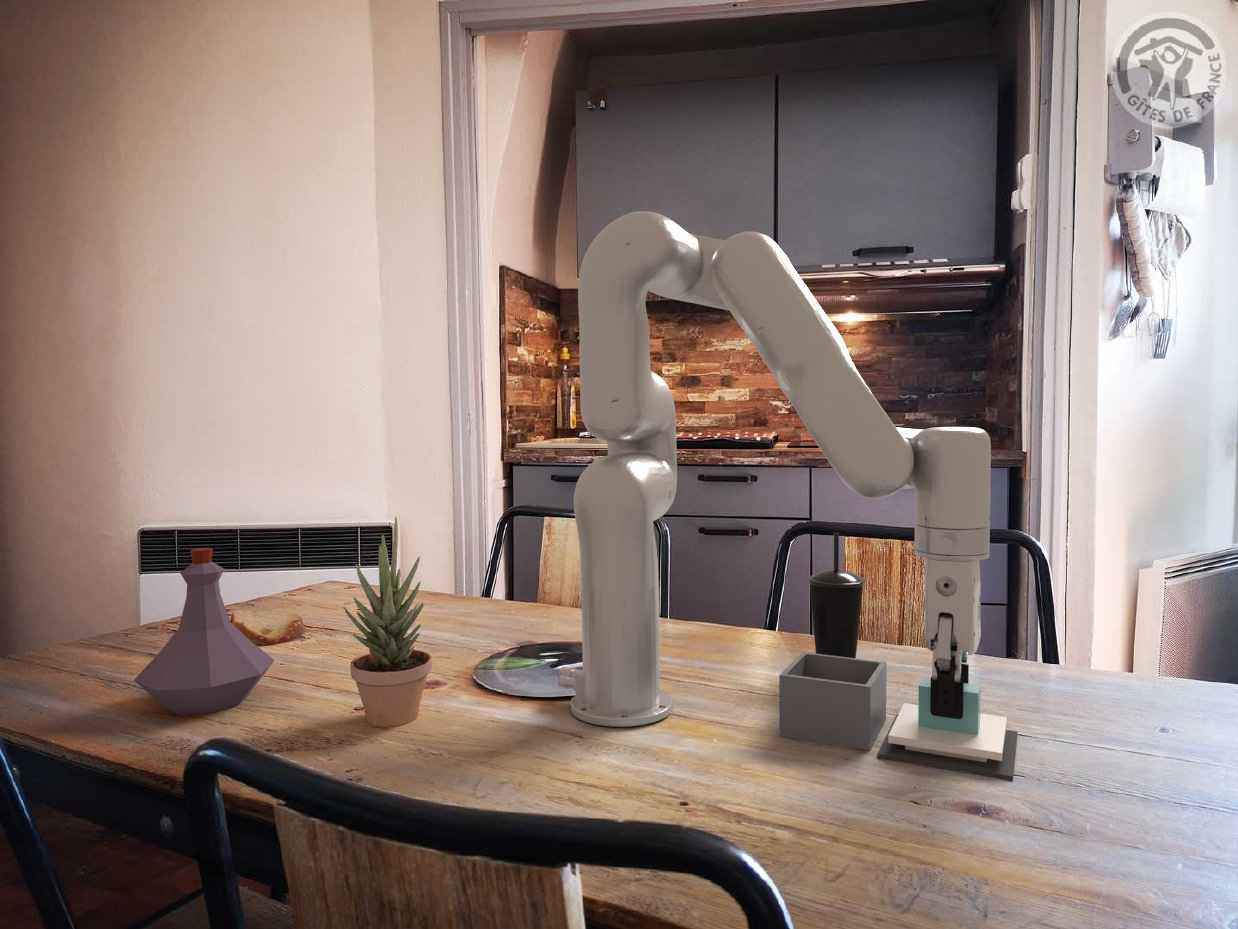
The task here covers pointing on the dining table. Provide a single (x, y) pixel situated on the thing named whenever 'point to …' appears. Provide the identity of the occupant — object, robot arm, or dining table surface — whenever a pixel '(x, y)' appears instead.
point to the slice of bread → (267, 626)
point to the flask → (204, 651)
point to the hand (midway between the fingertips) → (949, 705)
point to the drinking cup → (836, 609)
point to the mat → (988, 768)
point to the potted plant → (389, 647)
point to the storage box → (833, 700)
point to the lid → (950, 728)
